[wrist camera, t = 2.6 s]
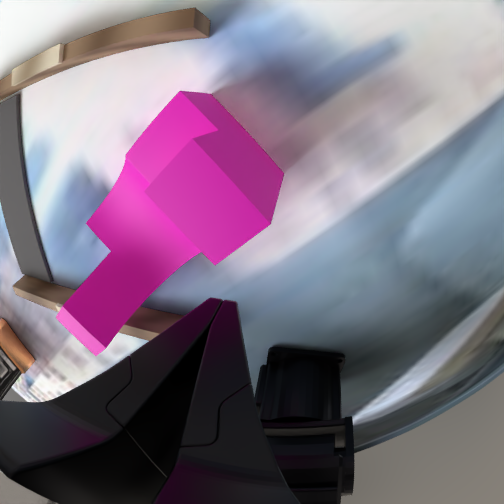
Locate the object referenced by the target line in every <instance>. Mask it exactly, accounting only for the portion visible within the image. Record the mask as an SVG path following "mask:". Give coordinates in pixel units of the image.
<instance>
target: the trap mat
mask: <svg viewBox="0 0 504 504" xmlns="http://www.w3.org/2000/svg"><path fill="white" fill-rule="evenodd" d="M19 95H20V94H19ZM19 95H15V96H13V97H12V98H10V99H8V100H6V101H4V102H2V103H1V104H0V201H1V206H2V210H3V214H4V218H5V222H6V226H7V229H8V233H9V236H10V240H11V243H12V246H13V249H14V252H15V255H16V258H17V261H18V264H19V267H20V269H21V272H22V274H25V275H28V276H31V277H34V278H37V279H40V280H43V281H46V282H50V283H51V282H52V281H53V279H52V276H51V273H50V271H49V268H48V265H47V262H46V259H45V255H44V252H43V249H42V245H41V242H40V239H39V235H38V231H37V227H36V223H35V219H34V215H33V211H32V206H31V202H30V197H29V192H28V186H27V180H26V174H25V167H24V160H23V152H22V142H21V129H20V101H19Z"/></svg>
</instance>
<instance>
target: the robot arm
mask: <svg viewBox="0 0 504 504" xmlns="http://www.w3.org/2000/svg"><path fill="white" fill-rule="evenodd" d="M344 363H345V355H344V354H340V353H327V352H316V351H305V350H296V349H287V348H279V347H271V348H270V349H269V351H268V357H267V365H262V366H261V367H260V372H259V377H258V382H257V388H256V393H255V398H254V393H253V388H252V385H251V378H250V373H249V367H248V361H247V356H246V350H245V345H244V339H243V333H242V327H241V321H240V316H239V310H238V304H237V302H236V301H231V300H224V301H223V300H222V299H217V298H209V299H207V300H206V301H205V302H203V303H202V304H201V305H199V306H198V307H196V308H195V309H194V310H192V311H191V312H189V313H188V314H187V315H185V316H184V317H182V318H181V319H180V320H178V321H177V322H175V323H174V324H173V325H171V326H170V327H168V328H167V329H166V330H164V331H163V332H161V333H160V334H159V335H157V336H156V337H154V338H153V339H152V340H150V341H149V342H147V343H146V344H145V345H143V346H142V347H140V348H139V349H137V350H136V351H135V352H133V353H132V354H130V356H127V357H126V358H124V359H123V360H122V361H120V362H119V363H117V364H116V365H114V366H113V367H111V368H110V369H108V370H107V371H105V372H103V373H102V374H100V375H98V376H96V377H95V378H93V379H91V380H89V381H87V382H86V383H84V384H82V385H80V386H78V387H76V388H74V389H72V390H71V391H69V392H67V393H65V394H63V395H61V396H59V397H57V398H55V399H52V400H49V401H45V402H15V401H3V400H0V504H340V502H341V496H347V495H352V493H353V484H354V439H353V421H352V416H350V417H345V418H342V416H341V385H340V372H341V370H342V368H343V365H344ZM338 446H344V448H335V447H338Z"/></svg>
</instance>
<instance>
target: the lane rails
mask: <svg viewBox="0 0 504 504" xmlns="http://www.w3.org/2000/svg"><path fill="white" fill-rule="evenodd" d="M209 32H210V20H209V19H208V18H207V17H206V16H205V15H203V14H202V13H201V12H200V11H199V10H197V9H196V8H189V9H183V10H177V11H171V12H166V13H161V14H157V15H152V16H148V17H144V18H140V19H136V20H132V21H129V22H125V23H122V24H119V25H115V26H112V27H109V28H106V29H103V30H100V31H98V32H95V33H92V34H90V35H87V36H84V37H82V38H79V39H77V40H75V41H72V42H70V43H68V44H65V45H64V44H58V45H56V46H54V47H52V48H50V49H48V50H46V51H44V52H42V53H40V54H38V55H36V56H35V57H33V58H31V59H29V60H27V61H26V62H24V63H22V64H21V65H19V66H17V67H16V68H14V69H13V70H12V73H11V74H9V75H8V76H6V77H5V78H3V79H2V80H0V101H1V100H3V99H4V98H6V97H8V96H10V95H12V94H14V93H15V92H17V91H19V90H21V89H23V88H25V87H27V86H29V85H31V84H34V83H36V82H38V81H40V80H42V79H45V78H47V77H49V76H52V75H54V74H56V73H59V72H61V71H64V70H67V69H69V68H72V67H75V66H78V65H80V64H83V63H86V62H89V61H92V60H96V59H99V58H102V57H106V56H109V55H113V54H116V53H120V52H124V51H128V50H133V49H137V48H142V47H146V46H151V45H157V44H162V43H169V42H175V41H182V40H190V39H199V38H209ZM13 289H14V291H15V293H16V295H18V296H20V297H23V298H25V299H27V300H30V301H32V302H34V303H37V304H39V305H42V306H44V307H47V308H49V309H52V310H54V311H57V312H59V311H60V309H61V307H62V306H63V305H64V304H65V302H66V301H67V300H68V299H69V298H70V297H71V296H72V295H73V294H74V292H75V291H76V290H73V289H70V288H66V287H63V286H60V285H56V284H53V283H50V282H46V281H43V280H40V279H37V278H34V277H31V276H28V275H24V276H23V277H22V278H21V279H20V280H19V281H18V282H16V283H15V284H14V285H13ZM182 317H184V316H183V315H178V314H173V313H168V312H163V311H158V310H154V309H149V308H144V307H139V308H138V309H137V310H136V311H135V312H134V313H133V314H132V316H131V317H130V318H129V319H128V320H127V322H126V323H125V324H124V325H123V326H122V328H121V329H120V330H119V332H120V333H123V334H126V335H130V336H133V337H137V338H141V339H145V340H148V341H150V340H152V339H153V338H154V337H156V336H157V335H159V334H160V333H161V332H163V331H164V330H166V329H167V328H168V327H170V326H171V325H173V324H174V323H175V322H177V321H178V320H180V319H181V318H182Z"/></svg>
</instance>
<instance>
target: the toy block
mask: <svg viewBox="0 0 504 504" xmlns="http://www.w3.org/2000/svg"><path fill="white" fill-rule="evenodd" d="M283 176H284V173H283V172H282V171H281V170H280V168H279V167H278V166H277V165H276V164H275V163H274V161H273V160H272V159H271V158H270V157H269V156H268V155H267V153H266V152H265V151H264V150H263V149H262V148H261V147H260V146H259V145H258V143H257V142H256V141H255V140H254V139H253V138H252V137H251V136H250V135H249V134H248V132H247V131H246V130H245V129H244V128H243V127H242V126H241V125H240V124H239V123H238V122H237V121H236V120H235V119H234V118H233V116H232V115H231V114H230V113H229V112H228V111H227V110H226V109H225V108H224V107H223V106H222V105H221V104H220V103H219V102H218V101H217V100H216V99H215V98H214V97H213V96H212V95H211V94H207V93H198V92H187V91H179V92H178V94H177V95H176V96H175V97H174V98H173V99H172V100H171V101H170V102H169V103H168V104H167V105H166V107H165V108H164V109H163V110H162V111H161V112H160V113H159V114H158V116H157V117H156V118H155V119H154V120H153V121H152V123H151V124H150V125H149V126H148V127H147V129H146V130H145V131H144V132H143V133H142V135H141V136H140V137H139V138H138V140H137V141H136V142H135V143H134V145H133V146H132V147H131V149H130V150H129V151H128V153H127V154H126V160H125V164H124V167H123V170H122V172H121V174H120V176H119V178H118V180H117V181H116V183H115V185H114V186H113V188H112V190H111V191H110V192H109V194H108V195H107V197H106V198H105V200H104V201H103V202H102V204H101V205H100V206H99V208H98V209H97V210H96V211H95V213H94V214H93V215H92V216H91V218H90V219H89V220H88V221H87V223H86V224H87V225H88V226H89V227H90V228H91V230H92V231H93V232H94V233H95V234H96V235H97V236H98V237H99V239H100V240H101V241H102V242H103V243H104V244H105V245H106V246H107V247H108V248H109V249H110V250H111V252H110V253H109V254H108V255H107V257H106V258H105V259H104V260H103V261H102V262H101V263H100V264H99V266H98V267H97V268H96V269H95V270H94V271H93V272H92V273H91V275H90V276H89V277H88V278H87V279H86V280H85V281H84V282H83V284H82V285H81V286H80V287H79V288H78V289H77V290H76V291H75V292H74V294H73V295H72V296H71V297H70V298H69V299H68V300H67V301H66V302H65V304H64V305H63V306H62V307H61V309H60V311H59V313H58V314H57V316H56V318H57V319H58V321H59V322H60V323H61V324H62V325H63V326H64V327H65V328H66V329H67V330H68V331H69V332H70V333H71V334H73V335H74V336H75V337H76V338H77V339H78V340H79V341H80V342H81V343H82V344H83V345H84V346H85V347H86V348H87V349H89V350H90V351H91V352H92V353H93V354H94V355H95V356H97V355H98V354H99V353H100V352H102V351H103V350H104V349H106V348H107V346H108V345H109V343H110V342H111V341H112V339H113V338H114V337H115V335H116V334H117V333H118V332H119V330H120V329H121V328H122V326H123V325H124V324H125V323H126V322H127V320H128V319H129V318H130V317H131V316H132V314H133V313H134V312H135V311H136V310H137V309H138V308H139V307H140V305H141V304H142V303H143V302H144V301H145V300H146V299H147V298H148V297H149V296H150V295H151V294H152V293H153V292H154V291H155V290H156V289H157V288H158V287H159V286H160V285H161V284H162V283H163V282H164V281H165V280H166V279H167V278H168V277H169V276H170V275H171V274H173V273H174V272H175V271H176V270H177V269H178V268H180V267H181V266H182V265H183V264H185V263H186V262H187V261H188V260H190V259H191V258H193V257H194V256H195V255H197V254H199V253H200V252H202V253H203V254H204V255H205V256H206V257H207V258H208V259H209V260H210V261H211V262H212V263H213V264H214V265H216V264H218V263H219V262H220V261H222V260H223V259H224V258H226V257H227V256H228V255H230V254H231V253H232V252H234V251H235V250H236V249H238V248H239V247H240V246H242V245H243V244H245V243H246V242H247V241H249V240H250V239H251V238H253V237H254V236H255V235H257V234H258V233H259V232H261V231H262V230H263V229H265V228H266V227H268V226H269V225H270V224H271V221H272V217H273V214H274V210H275V206H276V202H277V199H278V195H279V191H280V187H281V183H282V180H283Z"/></svg>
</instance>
